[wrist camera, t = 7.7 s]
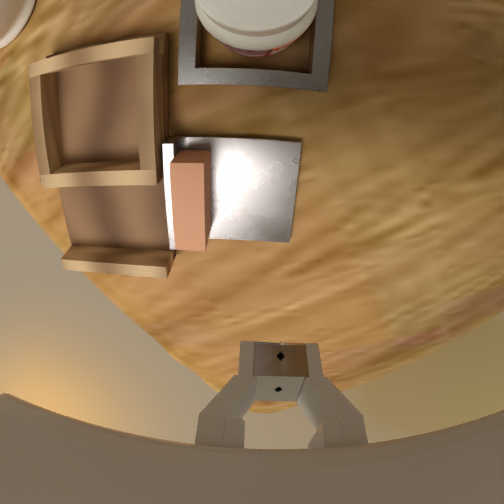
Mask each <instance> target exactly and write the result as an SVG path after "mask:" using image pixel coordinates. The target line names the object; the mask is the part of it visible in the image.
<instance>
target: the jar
mask: <svg viewBox="0 0 504 504" xmlns="http://www.w3.org/2000/svg"><path fill="white" fill-rule="evenodd" d="M34 4H35V0H0V48H2V47H4V46H6V45H8V44H9V43H10V42H11V41H13V40H14V39H15V38H16V36H17V35H18V34H19V33H20V32H21V30H22V29H23V27H24V26H25V24H26V23H27V21H28V19H29V17H30V15H31V12H32V10H33V7H34Z"/></svg>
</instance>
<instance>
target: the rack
mask: <svg viewBox="0 0 504 504" xmlns="http://www.w3.org/2000/svg"><path fill="white" fill-rule="evenodd" d="M168 50H169V34H167V33H160V34H151V35H142V36H135V37H128V38H122V39H116V40H111V41H106V42H101V43H96V44H91V45H87V46H83V47H78V48H74V49H70V50H67V51H63V52H59V53H56V54H53V55H49V56H46V59H44V60H40V61H37V62H34V63H31V64H29V81H30V101H31V113H32V124H33V133H34V141H35V148H36V155H37V161H38V167H39V172H40V178H41V183H42V188H55V187H59V192H60V197H61V202H62V207H63V211H64V216H65V220H66V224H67V228H68V232H69V236H70V240H71V243H72V246H71V247H70V248H69V250H68V251H67V252H66V253H65V255H64V256H63V257H62V258H61V262H62V265H63V268H64V269H65V270H75V271H86V272H96V273H108V274H119V275H131V276H144V277H157V278H168V275H169V272H170V270H171V267H172V264H173V262H174V259H175V256H176V253H175V249H170V245H169V235H168V224H167V212H166V199H165V185H164V168H163V146H162V144H163V143H164V142H165V141H166V140H168Z"/></svg>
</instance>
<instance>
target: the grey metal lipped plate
mask: <svg viewBox="0 0 504 504" xmlns="http://www.w3.org/2000/svg"><path fill="white" fill-rule="evenodd" d="M301 145H302V143H301V141H293V140H282V139H268V138H252V137H229V136H174V137H170V138H169V139H168V140H166V141H165V142H164V143H163V144H162V146H163V168H164V185H165V199H166V212H167V224H168V235H169V245H170V249H175V241H174V229H173V216H172V202H171V186H170V167H169V163H170V162H171V160H172V159H173V158H174V157H175V156H176V155H177V154H178V152H179V151H180V150H211V231H210V235H209V238H216V239H235V240H254V241H273V242H290V235H291V227H292V220H293V212H294V204H295V196H296V188H297V180H298V171H299V163H300V154H301Z"/></svg>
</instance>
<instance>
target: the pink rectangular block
mask: <svg viewBox="0 0 504 504" xmlns="http://www.w3.org/2000/svg"><path fill="white" fill-rule="evenodd" d="M169 167H170V186H171V202H172V216H173V229H174V241H175V250H193V251H206V247H207V243H208V239H209V235H210V231H211V150H180V151H179V152H178V154H177V155H176V156H175V157H174V158H173V159H172V160H171V162H170V163H169Z"/></svg>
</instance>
